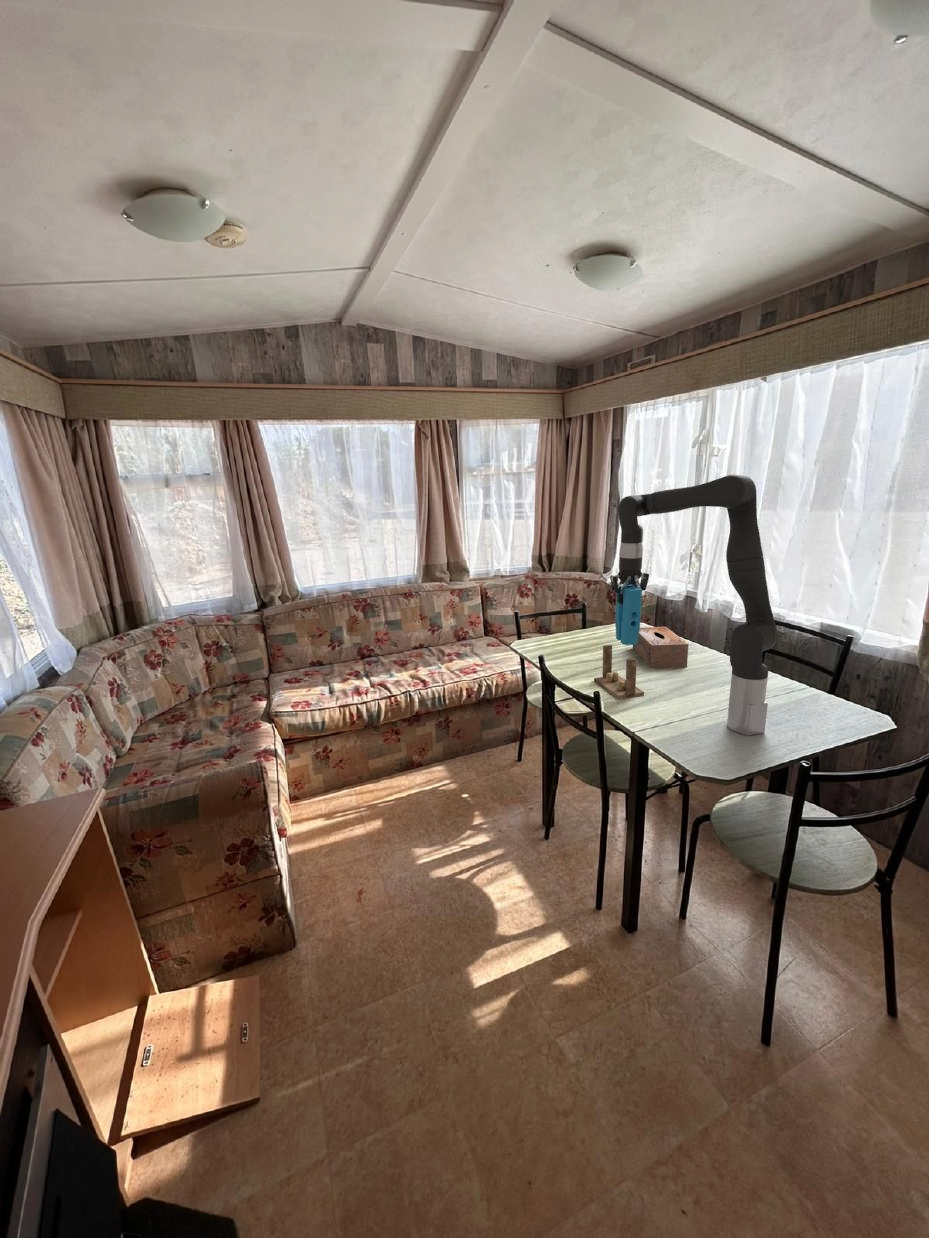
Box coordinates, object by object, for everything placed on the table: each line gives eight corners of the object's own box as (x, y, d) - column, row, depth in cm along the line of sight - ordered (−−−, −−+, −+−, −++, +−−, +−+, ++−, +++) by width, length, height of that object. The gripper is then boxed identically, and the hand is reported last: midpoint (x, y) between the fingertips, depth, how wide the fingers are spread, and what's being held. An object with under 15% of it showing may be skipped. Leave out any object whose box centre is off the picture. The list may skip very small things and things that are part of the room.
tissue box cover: (632, 648, 225) (633, 627, 223) (664, 647, 224) (665, 626, 222) (650, 668, 200) (651, 645, 198) (686, 667, 199) (688, 644, 197)
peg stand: (617, 677, 192) (618, 643, 189) (643, 695, 175) (645, 657, 172) (594, 680, 190) (594, 646, 187) (618, 699, 173) (619, 661, 170)
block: (639, 645, 171) (643, 589, 166) (625, 646, 171) (628, 590, 165) (626, 635, 183) (629, 582, 177) (613, 636, 182) (615, 583, 177)
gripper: (617, 558, 163) (615, 607, 168) (656, 555, 166) (652, 604, 171) (606, 555, 170) (604, 602, 175) (643, 552, 173) (640, 599, 178)
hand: (628, 603), depth 173 cm, fingers closed on block, 5 cm apart
